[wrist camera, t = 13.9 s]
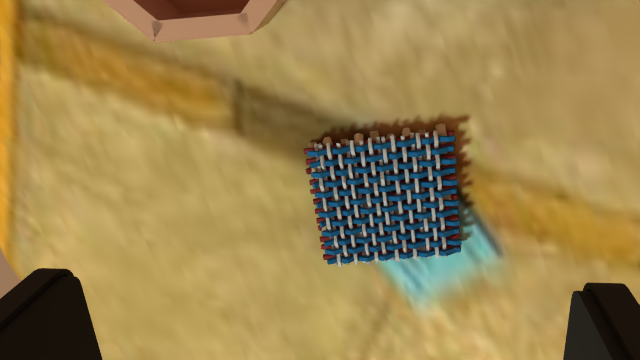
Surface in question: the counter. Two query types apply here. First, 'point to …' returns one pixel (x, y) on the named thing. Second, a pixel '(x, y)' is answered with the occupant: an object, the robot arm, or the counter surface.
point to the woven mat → (386, 196)
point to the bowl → (196, 17)
